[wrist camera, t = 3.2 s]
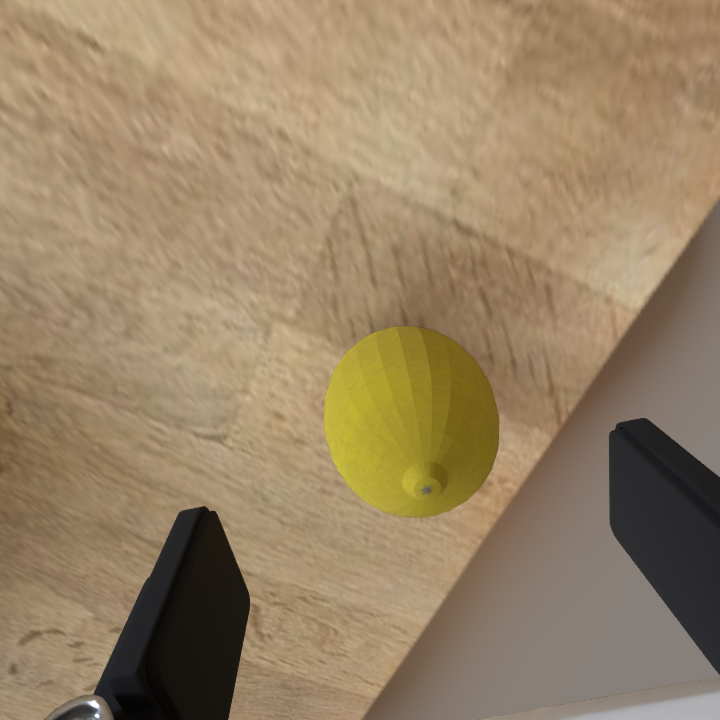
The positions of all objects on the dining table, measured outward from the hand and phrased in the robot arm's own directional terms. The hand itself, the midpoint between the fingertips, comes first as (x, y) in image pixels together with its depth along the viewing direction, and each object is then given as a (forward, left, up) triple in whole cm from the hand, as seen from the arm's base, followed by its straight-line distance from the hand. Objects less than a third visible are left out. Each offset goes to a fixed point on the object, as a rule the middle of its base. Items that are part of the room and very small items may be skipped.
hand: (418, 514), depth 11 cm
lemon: (0, 0, -9) cm, 9 cm away
